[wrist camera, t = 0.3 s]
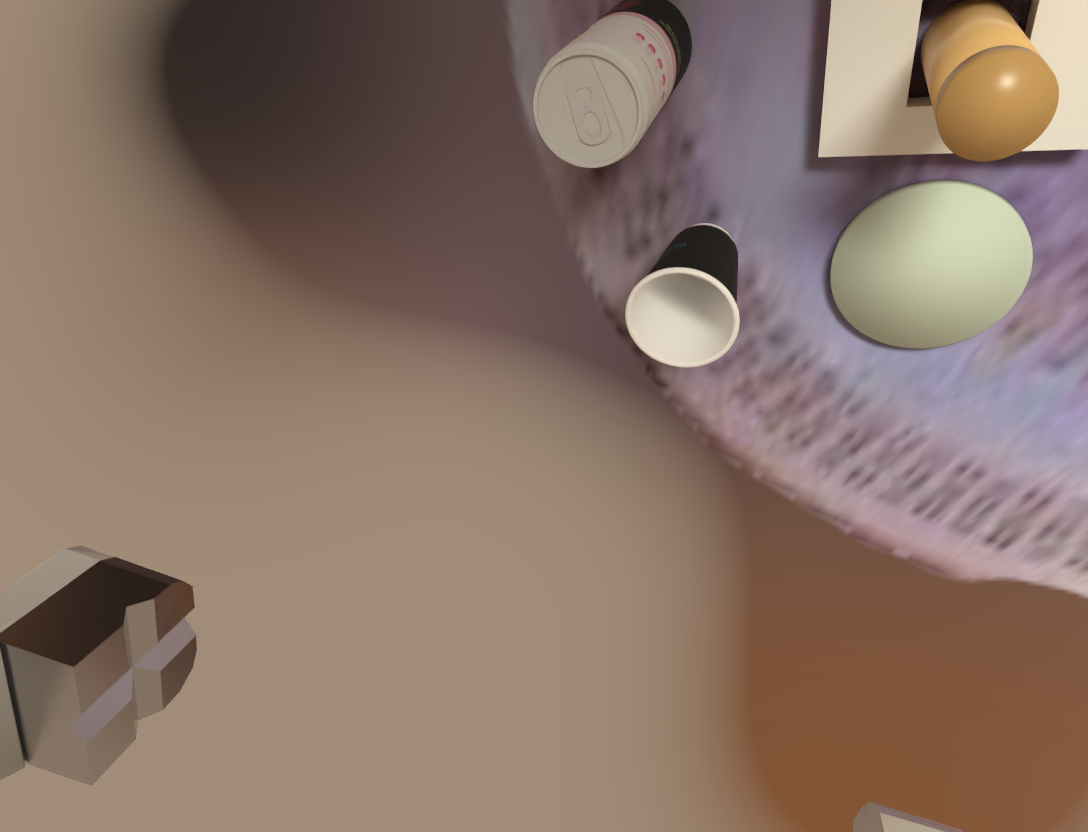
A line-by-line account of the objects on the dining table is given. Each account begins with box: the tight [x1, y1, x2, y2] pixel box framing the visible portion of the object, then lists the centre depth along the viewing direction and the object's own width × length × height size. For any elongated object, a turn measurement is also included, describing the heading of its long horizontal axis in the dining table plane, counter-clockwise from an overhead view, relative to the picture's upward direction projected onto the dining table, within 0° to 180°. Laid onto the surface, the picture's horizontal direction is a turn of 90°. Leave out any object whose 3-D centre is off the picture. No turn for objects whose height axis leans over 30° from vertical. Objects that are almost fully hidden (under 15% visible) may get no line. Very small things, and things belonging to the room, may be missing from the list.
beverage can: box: [533, 0, 692, 168], centre depth 45 cm, size 7×7×15 cm
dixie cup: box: [625, 223, 740, 368], centre depth 54 cm, size 8×8×11 cm
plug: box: [921, 0, 1059, 162], centre depth 40 cm, size 5×5×14 cm
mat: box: [830, 180, 1033, 348], centre depth 53 cm, size 13×13×1 cm
